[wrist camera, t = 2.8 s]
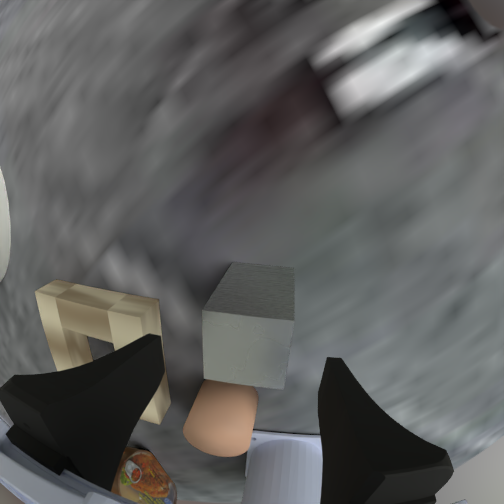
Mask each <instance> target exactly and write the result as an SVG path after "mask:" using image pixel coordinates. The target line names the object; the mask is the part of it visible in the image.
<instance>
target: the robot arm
mask: <svg viewBox="0 0 504 504" xmlns="http://www.w3.org/2000/svg"><path fill="white" fill-rule="evenodd" d="M164 373H165V364H164V356H163V348H162V339H161V336H160V335H155V334H150V333H149V334H146V335H144V336H142V337H140V338H139V339H137V340H135V341H133V342H131V343H129V344H127V345H125V346H124V347H122V348H120V349H118V350H116V351H114V352H112V353H110V354H108V355H105V356H103V357H101V358H99V359H97V360H94V361H92V362H89V363H86V364H83V365H80V366H77V367H74V368H70V369H66V370H62V371H57V372H52V373H45V374H35V375H14V376H13V377H12V378H10V379H9V380H8V381H7V382H6V383H5V384H4V385H3V386H2V387H1V388H0V401H1V403H2V405H3V406H4V408H5V410H6V412H7V413H8V415H9V417H10V418H11V420H12V421H13V423H14V425H13V426H12V427H11V428H10V426H9V425H8V424H7V423H6V422H5V421H3V420H2V419H1V418H0V483H2V485H4V486H5V487H6V488H7V489H8V490H9V491H11V492H12V493H13V494H14V495H15V496H16V497H18V498H19V499H20V500H21V501H23V502H24V503H25V504H140V503H137V502H134V501H132V500H129V499H127V498H124V497H122V496H119V495H117V494H114V493H112V492H111V490H112V486H113V482H114V479H115V475H116V472H117V469H118V467H119V464H120V461H121V458H122V455H123V453H124V450H125V448H126V445H127V443H128V441H129V438H130V436H131V434H132V432H133V429H134V427H135V426H136V424H137V422H138V420H139V419H140V417H141V415H142V414H143V412H144V411H145V409H146V407H147V406H148V404H149V403H150V401H151V399H152V398H153V396H154V394H155V393H156V391H157V389H158V387H159V385H160V383H161V381H162V378H163V376H164ZM318 417H319V427H320V435H300V434H286V433H274V432H265V431H256V430H253V432H252V437H251V442H250V447H249V449H248V450H247V459H246V470H245V476H246V482H245V487H244V492H243V497H242V502H241V504H435V503H436V497H435V494H436V493H437V492H438V491H439V490H440V489H441V488H442V487H443V486H444V485H445V484H446V483H447V482H448V480H449V479H450V478H451V476H452V474H453V472H454V470H453V466H452V463H451V460H450V458H449V455H448V453H447V451H446V450H445V449H442V448H440V447H438V446H436V445H433V444H431V443H429V442H427V441H425V440H423V439H422V438H420V437H418V436H416V435H415V434H413V433H411V432H410V431H408V430H407V429H405V428H404V427H403V426H401V425H400V424H399V423H397V422H396V421H395V420H393V419H392V418H391V417H390V416H389V415H388V414H387V413H385V412H384V411H383V410H382V409H381V408H380V407H379V406H378V405H377V404H376V403H375V402H374V401H373V400H372V398H371V397H370V396H369V395H368V394H367V393H366V391H365V390H364V389H363V388H362V386H361V385H360V384H359V382H358V381H357V380H356V378H355V377H354V376H353V374H352V373H351V371H350V370H349V368H348V367H347V365H346V364H345V363H344V361H343V360H342V358H332V357H327V360H326V364H325V368H324V372H323V376H322V380H321V384H320V387H319V391H318ZM452 504H468V503H467V500H465V499H464V500H461V501H459V502H456V503H452Z"/></svg>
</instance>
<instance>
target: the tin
mask: <svg viewBox="0 0 504 504" xmlns="http://www.w3.org/2000/svg"><path fill="white" fill-rule="evenodd" d="M111 492H112V493H114V494H117V495H119V496H122V497H124V498H127V499H129V500H132V501H134V502H137V503H140V504H176V501H177V491H176V487H175V484H174V483H173V481H172V480H171V479H170V477H169V476H168V475H167V473H166V472H165V471H164V469H163V468H162V467H161V465H160V464H159V462H158V461H157V459H156V458H155V457H154V455H153V454H152V453H151V452H149V451H147V450H141V449H137V448H133V447H126V448H125V450H124V453H123V455H122V458H121V461H120V464H119V467H118V469H117V472H116V475H115V479H114V482H113V486H112V490H111Z"/></svg>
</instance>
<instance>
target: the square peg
mask: <svg viewBox="0 0 504 504" xmlns="http://www.w3.org/2000/svg"><path fill="white" fill-rule="evenodd" d="M293 327H294V268H291V267H281V266H270V265H260V264H250V263H240V262H232V264H231V266H230V267H229V269H228V270H227V272H226V273H225V275H224V276H223V278H222V280H221V281H220V283H219V284H218V286H217V287H216V289H215V290H214V292H213V294H212V295H211V297H210V298H209V300H208V301H207V303H206V305H205V306H204V308H203V309H202V336H203V367H204V379H209V380H215V381H221V382H227V383H234V384H241V385H248V386H256V387H264V388H274V389H284V384H285V378H286V372H287V366H288V360H289V354H290V347H291V340H292V334H293Z"/></svg>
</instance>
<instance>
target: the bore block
mask: <svg viewBox="0 0 504 504" xmlns="http://www.w3.org/2000/svg"><path fill="white" fill-rule="evenodd" d="M35 295H36V299H37V304H38V308H39V312H40V316H41V320H42V323H43V327H44V331H45V334H46V338H47V341H48V344H49V347H50V350H51V354H52V357H53V360H54V362H55V365H56V368H57V371H62V370H66V369H70V368H74V367H77V366H80V365H83V364H86V363H89V362H92V361H93V358H92V355H91V351H90V347H89V343H88V339H87V336H90V337H94V338H97V339H100V340H104V341H107V342H111V343H113V344H114V349H115V351H116V350H118V349H120V348H122V347H124V346H125V345H127V344H129V343H131V342H133V341H135V340H137V339H139V338H140V337H142V336H144V335H146V334H149V333H150V334H155V335H160V336H161V339H162V331H161V321H160V309H159V299H153V298H148V297H142V296H136V295H130V294H125V293H120V292H114V291H109V290H104V289H99V288H94V287H89V286H84V285H79V284H75V283H70V282H66V281H61V280H57V279H56V280H54V281H52V282H50V283H49V284H47V285H45V286H43V287H42V288H40V289H38V290H36V291H35ZM162 348H163V341H162ZM163 356H164V349H163ZM164 364H165V358H164ZM170 404H171V400H170V393H169V387H168V380H167V373H166V366H165V373H164V376H163V378H162V381H161V383H160V385H159V387H158V389H157V391H156V393H155V394H154V396H153V398H152V399H151V401H150V403H149V404H148V406H147V407H146V409H145V411H144V412H143V414H142V415H141V417H140V419H142V420H145V421H149V422H152V423H155V424H159V425H160V423H161V421H162V419H163V418H164V416H165V414H166V412H167V410H168V408H169V406H170Z"/></svg>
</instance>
